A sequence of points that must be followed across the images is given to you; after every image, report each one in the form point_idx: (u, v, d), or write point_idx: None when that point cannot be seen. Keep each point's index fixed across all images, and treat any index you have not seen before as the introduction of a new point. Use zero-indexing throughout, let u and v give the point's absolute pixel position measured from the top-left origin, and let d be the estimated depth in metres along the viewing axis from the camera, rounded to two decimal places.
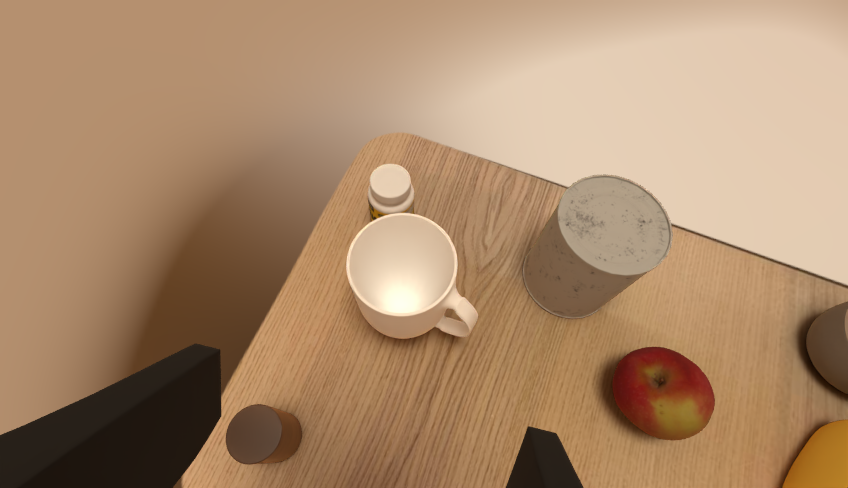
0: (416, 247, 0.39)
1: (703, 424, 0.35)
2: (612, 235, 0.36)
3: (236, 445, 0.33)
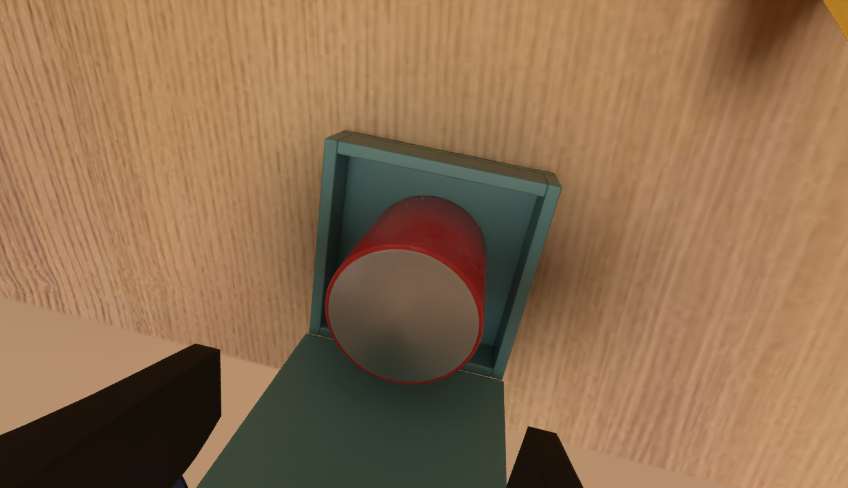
0: None
1: None
2: None
3: None
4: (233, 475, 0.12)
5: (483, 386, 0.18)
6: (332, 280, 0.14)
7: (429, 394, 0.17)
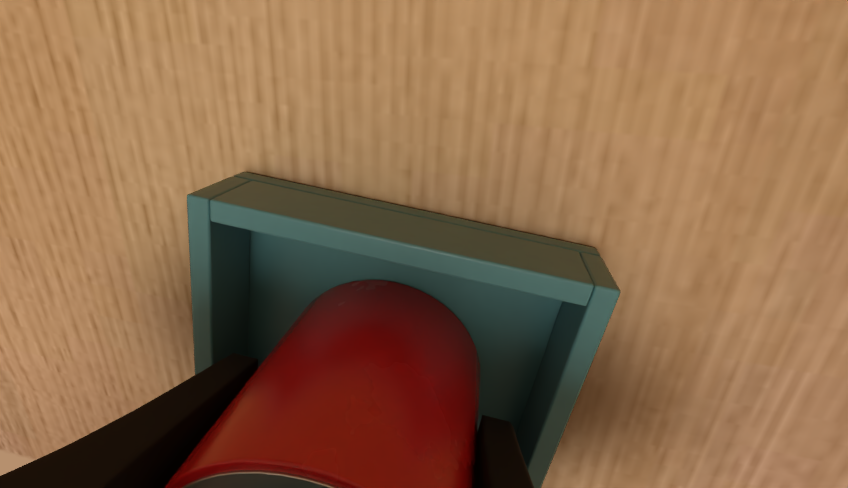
0: None
1: None
2: None
3: None
4: None
5: None
6: None
7: None
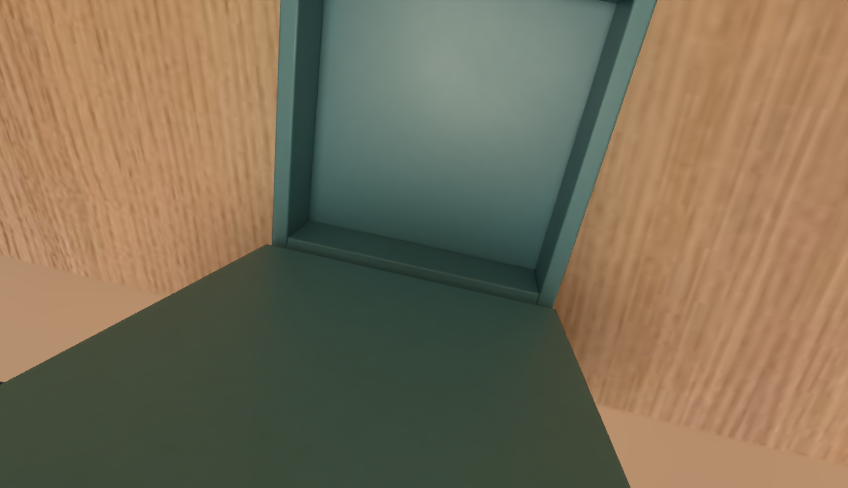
0: None
1: None
2: None
3: None
4: (85, 375, 0.06)
5: (528, 311, 0.12)
6: None
7: (450, 312, 0.11)
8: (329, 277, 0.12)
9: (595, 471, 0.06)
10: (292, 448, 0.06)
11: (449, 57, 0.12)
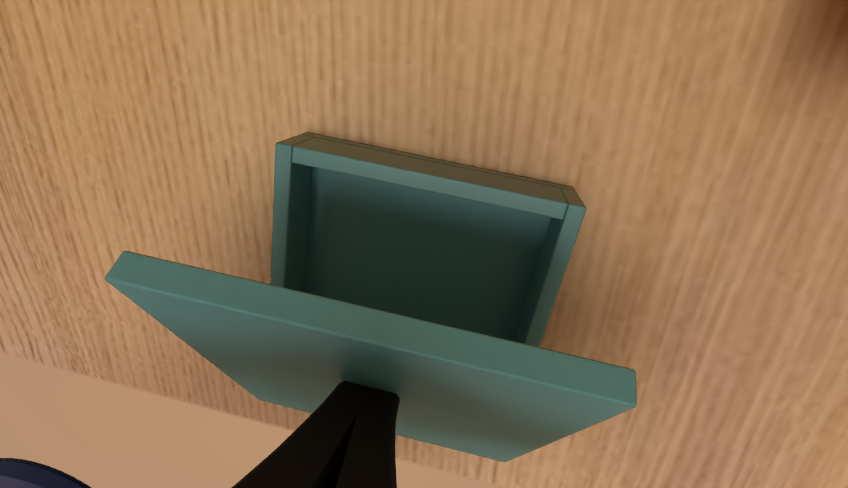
0: None
1: None
2: None
3: None
4: None
5: None
6: None
7: None
8: None
9: None
10: None
11: (417, 233, 0.14)
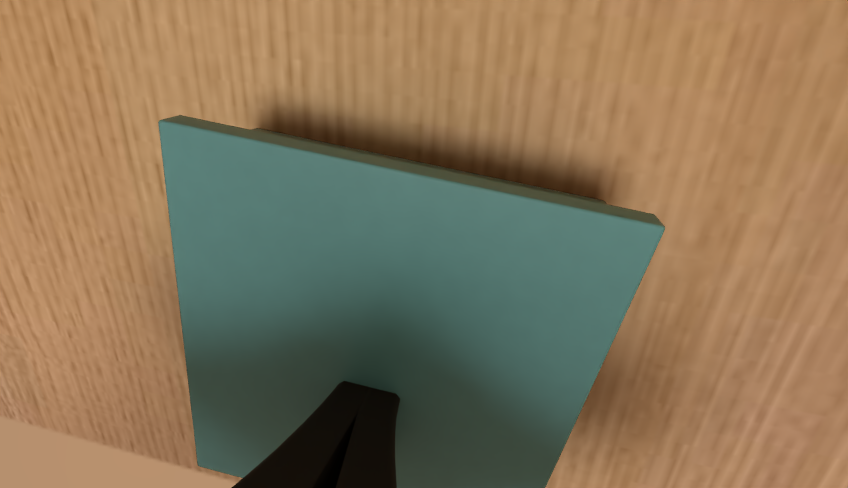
0: None
1: None
2: None
3: None
4: None
5: None
6: None
7: None
8: None
9: None
10: None
11: None
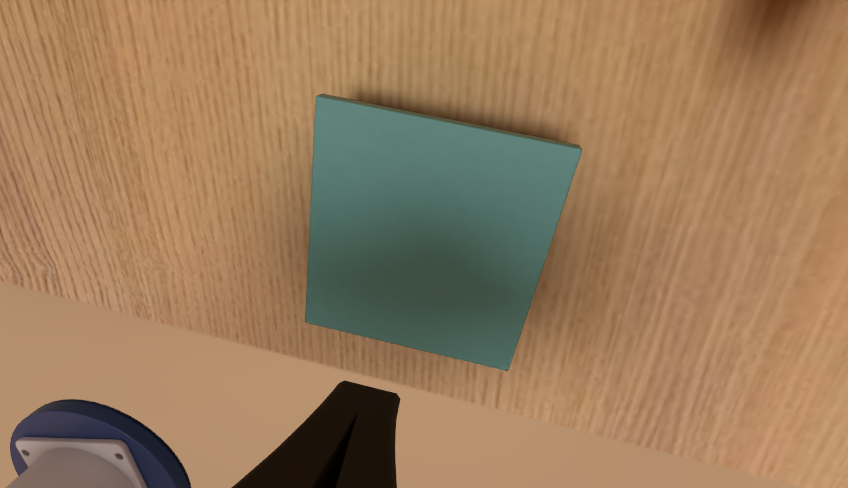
0: None
1: None
2: None
3: None
4: None
5: None
6: None
7: None
8: None
9: None
10: None
11: None
